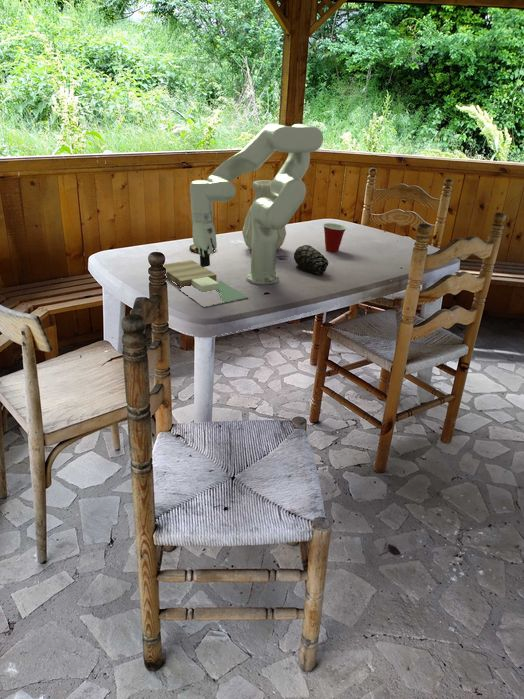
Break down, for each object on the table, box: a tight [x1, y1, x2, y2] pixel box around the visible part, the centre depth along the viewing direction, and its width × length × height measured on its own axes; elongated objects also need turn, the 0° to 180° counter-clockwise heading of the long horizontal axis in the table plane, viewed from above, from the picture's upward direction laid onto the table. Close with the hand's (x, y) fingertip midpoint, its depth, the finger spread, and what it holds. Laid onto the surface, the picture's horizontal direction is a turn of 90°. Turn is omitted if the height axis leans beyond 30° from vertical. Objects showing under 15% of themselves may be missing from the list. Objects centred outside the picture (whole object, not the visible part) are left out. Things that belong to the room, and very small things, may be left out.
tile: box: [192, 277, 219, 292], centre depth 205 cm, size 8×7×2 cm
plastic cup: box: [322, 222, 348, 254], centre depth 254 cm, size 11×11×12 cm
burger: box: [189, 243, 216, 254], centre depth 248 cm, size 12×12×8 cm
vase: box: [241, 179, 287, 251], centre depth 247 cm, size 20×20×30 cm
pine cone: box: [293, 244, 329, 278], centre depth 228 cm, size 10×18×10 cm, turn 42°
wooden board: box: [163, 259, 217, 287], centre depth 216 cm, size 20×15×3 cm
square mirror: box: [216, 280, 249, 303], centre depth 202 cm, size 19×18×1 cm
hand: (205, 265), depth 204 cm, fingers closed
